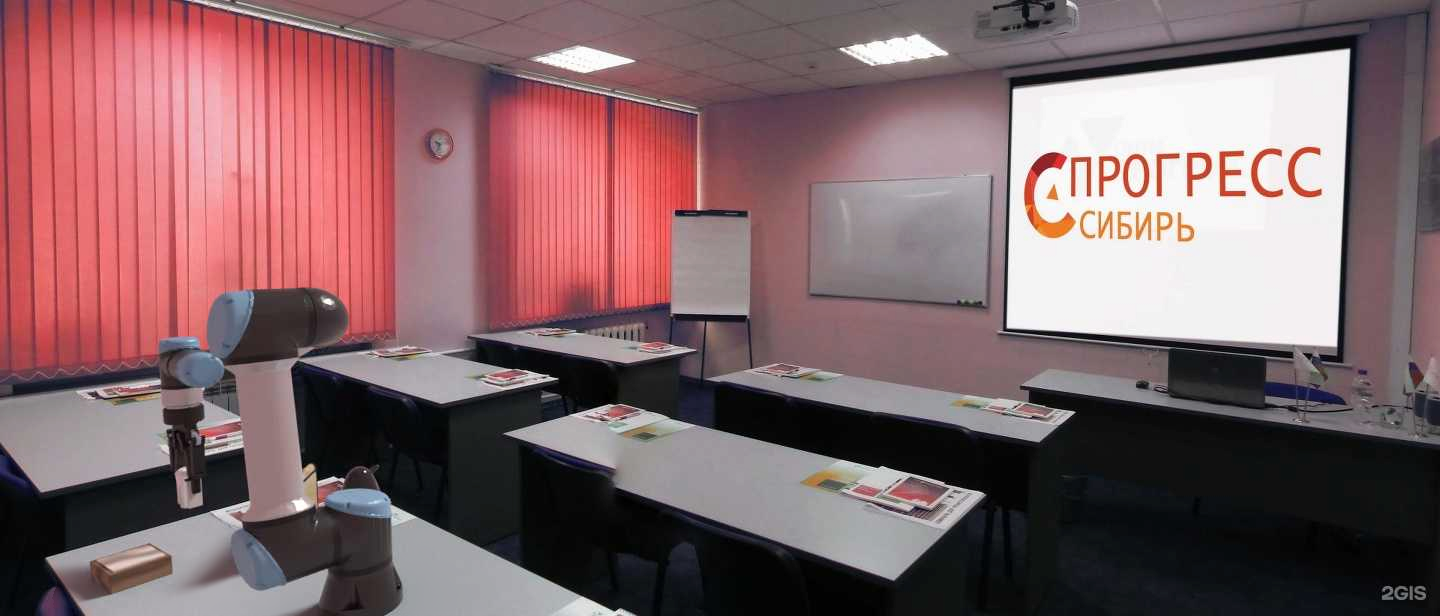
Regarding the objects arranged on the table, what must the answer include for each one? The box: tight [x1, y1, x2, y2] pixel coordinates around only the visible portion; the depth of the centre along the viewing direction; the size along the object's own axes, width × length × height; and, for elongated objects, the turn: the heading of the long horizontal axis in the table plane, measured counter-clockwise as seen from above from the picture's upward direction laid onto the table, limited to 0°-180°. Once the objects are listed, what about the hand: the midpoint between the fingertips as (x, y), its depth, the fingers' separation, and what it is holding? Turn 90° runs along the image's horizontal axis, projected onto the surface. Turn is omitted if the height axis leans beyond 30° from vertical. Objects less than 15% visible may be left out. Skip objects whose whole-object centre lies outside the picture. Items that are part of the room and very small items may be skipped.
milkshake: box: [174, 467, 189, 509], centre depth 162 cm, size 4×5×10 cm
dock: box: [89, 542, 174, 595], centre depth 152 cm, size 11×10×4 cm
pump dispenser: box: [340, 464, 381, 492], centre depth 179 cm, size 10×10×15 cm
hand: (190, 504), depth 163 cm, fingers closed on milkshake, 4 cm apart
